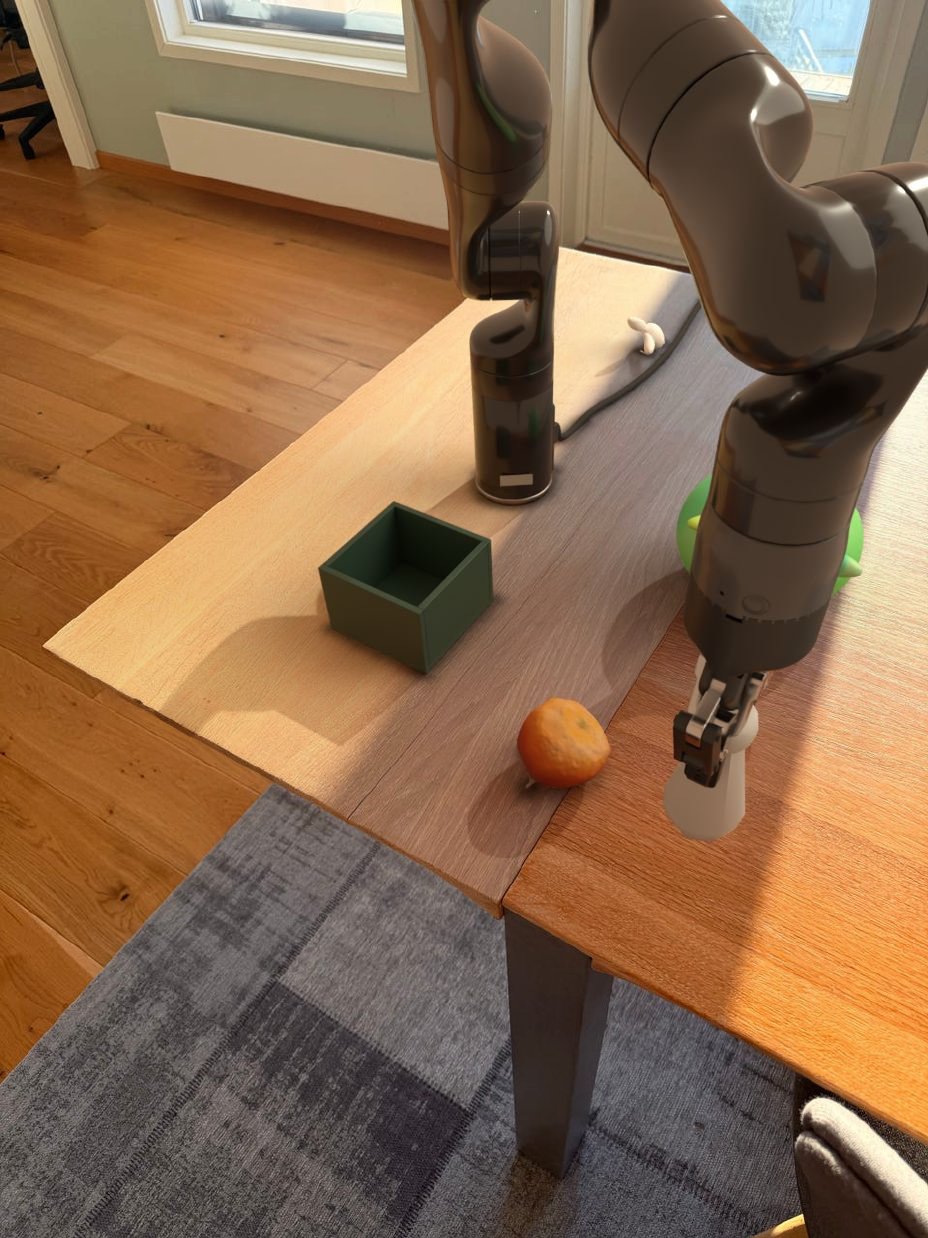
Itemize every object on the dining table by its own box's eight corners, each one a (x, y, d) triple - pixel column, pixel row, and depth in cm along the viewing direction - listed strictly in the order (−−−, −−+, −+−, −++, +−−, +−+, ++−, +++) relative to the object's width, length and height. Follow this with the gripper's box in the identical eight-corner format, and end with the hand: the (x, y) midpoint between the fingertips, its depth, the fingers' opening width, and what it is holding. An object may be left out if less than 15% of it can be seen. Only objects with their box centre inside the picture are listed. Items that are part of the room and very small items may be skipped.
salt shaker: (739, 859, 65) (775, 752, 55) (657, 847, 66) (679, 739, 56) (739, 790, 68) (772, 679, 59) (662, 780, 69) (682, 669, 60)
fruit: (491, 728, 83) (537, 675, 78) (563, 747, 86) (611, 697, 81) (501, 803, 77) (551, 750, 73) (578, 821, 81) (630, 771, 76)
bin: (401, 560, 102) (393, 500, 96) (493, 600, 97) (491, 539, 91) (331, 628, 95) (317, 567, 89) (426, 675, 90) (418, 614, 84)
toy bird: (847, 553, 99) (885, 441, 89) (839, 663, 88) (880, 550, 78) (682, 525, 104) (699, 415, 94) (654, 626, 93) (670, 515, 83)
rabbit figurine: (679, 347, 132) (657, 345, 126) (658, 364, 134) (636, 363, 128) (657, 314, 133) (635, 310, 127) (637, 332, 135) (614, 329, 129)
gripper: (747, 475, 54) (707, 663, 67) (640, 622, 46) (616, 804, 59) (874, 516, 51) (807, 705, 64) (782, 681, 43) (726, 860, 56)
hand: (716, 752), depth 61 cm, fingers closed on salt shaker, 4 cm apart
